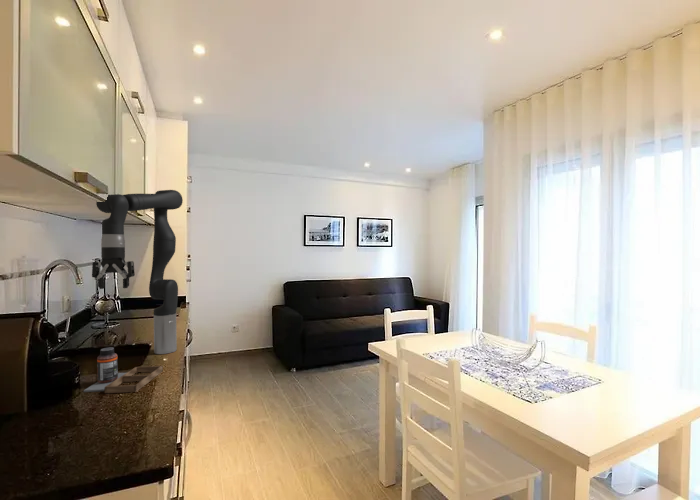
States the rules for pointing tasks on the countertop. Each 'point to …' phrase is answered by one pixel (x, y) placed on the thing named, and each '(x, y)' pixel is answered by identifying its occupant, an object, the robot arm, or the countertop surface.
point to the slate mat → (100, 385)
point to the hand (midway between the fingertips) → (113, 288)
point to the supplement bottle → (107, 365)
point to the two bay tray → (133, 379)
